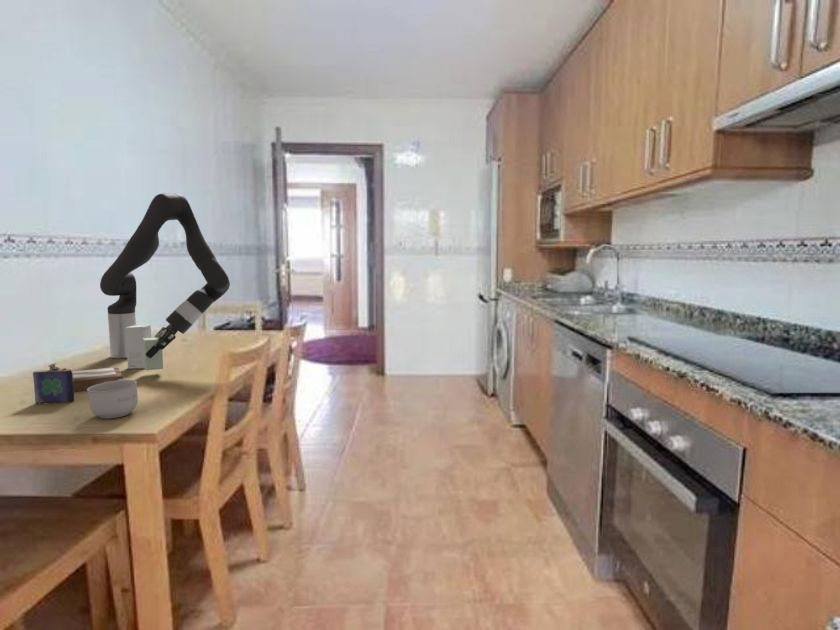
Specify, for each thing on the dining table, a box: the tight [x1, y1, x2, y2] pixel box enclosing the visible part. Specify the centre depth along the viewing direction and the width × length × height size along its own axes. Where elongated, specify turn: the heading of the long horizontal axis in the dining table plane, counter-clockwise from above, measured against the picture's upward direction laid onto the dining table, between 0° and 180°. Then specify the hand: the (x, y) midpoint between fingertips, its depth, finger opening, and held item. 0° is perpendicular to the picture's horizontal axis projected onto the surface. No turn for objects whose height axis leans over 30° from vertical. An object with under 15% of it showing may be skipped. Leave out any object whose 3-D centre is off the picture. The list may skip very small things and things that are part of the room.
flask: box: [32, 362, 75, 404], centre depth 140 cm, size 9×3×11 cm, turn 102°
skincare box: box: [125, 324, 152, 370], centre depth 184 cm, size 8×6×15 cm
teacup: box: [86, 378, 139, 420], centre depth 131 cm, size 14×11×8 cm
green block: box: [143, 336, 164, 371], centre depth 171 cm, size 5×5×10 cm
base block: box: [71, 366, 124, 392], centre depth 160 cm, size 14×14×4 cm
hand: (146, 354), depth 170 cm, fingers closed on green block, 5 cm apart
